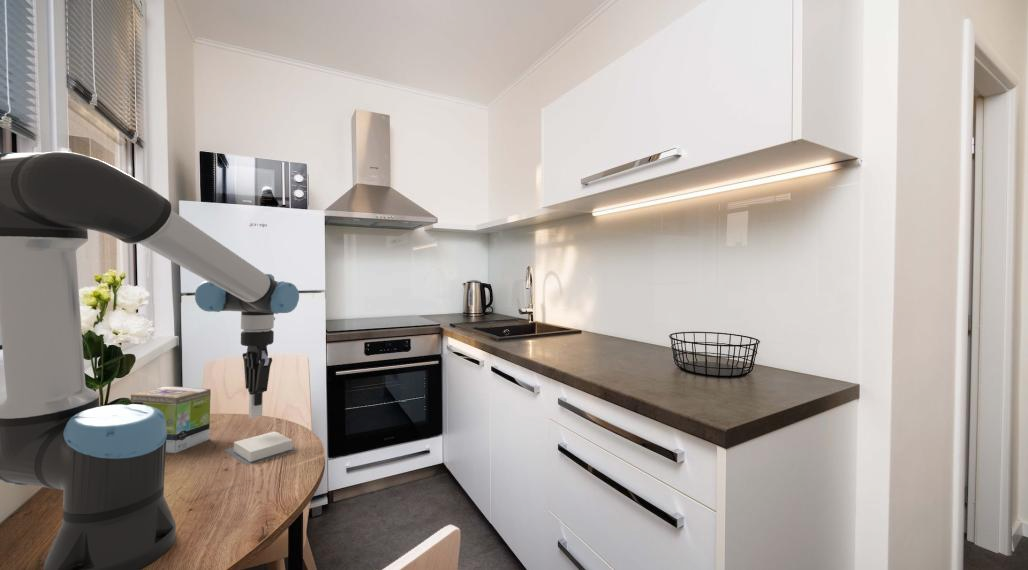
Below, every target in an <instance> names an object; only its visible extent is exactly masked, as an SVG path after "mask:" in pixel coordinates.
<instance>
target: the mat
mask: <svg viewBox="0 0 1028 570" xmlns="http://www.w3.org/2000/svg"><path fill="white" fill-rule="evenodd" d="M297 450H298V448H295V447H294V446H292V449H291V450H288V451H285V452H282V453H278V454H275V455H272V456H269V457H265V458H262V459H259V460H256V461H252V462H250V461H248V460H246V459H245V458H243V457H242V456H240V455H239V454H237V453H235V452H234V446H233V447H231V448H230V447H229V448H226V449H224V450H223V451H224V452H225V453H228V455H230V456H231V457H233V458H235V459H236V460H237V461H240V462H241V463H242V464H244V465H245V466H250V465H252V464H255V463H256V464H257V463H258V462H262V461H265V460H268V459H271V458H275V457H278V456H281V455H285V454H288V453H291V452H294V451H297Z"/></svg>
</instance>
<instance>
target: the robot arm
mask: <svg viewBox="0 0 1028 570" xmlns="http://www.w3.org/2000/svg"><path fill="white" fill-rule="evenodd" d="M89 230H90V231H95V232H99V233H102V234H106V235H108V236H112V237H113V238H116V239H117V240H119V241H121V242H123V243H125V244H128V245H139V244H140V245H142V246H143V247H145V248H147V249H149V250H151V251H152V252H155V253H156V254H158V255H159V256H161V257H163V258H165V259H167V260H169V261H171V262H172V263H174V264H176V265H178V266H180V267H182V268H183V269H185V270H187V271H188V272H190V273H193V274H195V275H196V276H197V277H200V278H201V279H203V280H205V281H202V282H201V283H199V285H198V286H197V287H196V289H195V293H194V294H195V295H194V297H195V298H194V299H195V303H196V305H197V307H198V308H199V309H200V310H202V311H203V312H208V313H209V312H214V313H220V312H241V315H240V329H241V333H240V345H241V346H244V347H247V348H246V352H243V353H242V359H243V369H244V382H245V389H246V390H248V395H249V396H248V397H249V400H248V401H249V402H248V418H250V419H254V418H258V417H262V416H263V398H264V396H263V395H264V394H263V393H264V392H265V393H266V392H267V391H268V385H269V378H270V372H271V371H270V370H271V366H272V362H273V358H272V357H268V356H269V352H268V345H272V344H273V343H274V341H275V340H274V336H275V335H274V333H275V331H274V330H273V328H274V326H275V324H274V323H275V322H274V321H275V320H276V317H275V315H278V314H288V313H291V312H293V311H294V310H295V309H296V307H297V306H298V303H299V300H300V291H299V290H298V288H297V286H296V285H295V284H294V283H292V282H288V281H286V282H285V281H277V280H275V275H273V274H270V273H265V272H263V271H261V270H260V269H259V268H257V267H255V266H254V265H252V264H251V263H250V262H248V261H247V260H245V259H244V258H242V257H241V256H239V255H238V254H237V253H235V252H234V251H232V250H231V249H229V248H228V247H226V246H225V245H223V244H222V243H221V242H219V241H217V240H216V239H215V238H214V237H212V236H210V235H208V234H207V233H206V232H204V231H203V230H201V229H200V228H199V227H197V226H196V225H194V224H192V222H189V221H188V220H186V219H185V218H184V217H182V216H181V215H180V214H178V213H176V212H175V211H174V206H173V204H172V202H171V201H170V200H169V199H167V198H166V197H164V196H162V195H161V194H160V193H158V192H157V191H156V190H154V189H152V188H151V187H150V186H148V185H146V184H145V183H143V182H142V181H140V180H138V179H137V178H135V177H133V176H132V175H130V174H128V173H127V172H125V171H122V170H121V169H119V168H117V167H115V166H113V165H111V164H109V163H107V162H105V161H102V160H100V159H98V158H95V157H92V156H88V155H85V154H81V153H77V152H72V151H49V152H48V151H47V152H4V153H2V152H0V336H1V345H2V346H1V347H2V357H3V358H2V359H3V367H4V368H3V369H4V381H5V391H6V398H5V401H4V402H2V404H0V481H2V482H4V483H9V484H14V485H19V486H34V487H41V488H42V487H43V488H48V489H54V490H61V491H63V493H62V494H63V496H62V498H63V500H62V503H63V504H62V522H61V525H60V526H59V529H58V532H57V534H56V536H55V538H54V540H53V542H52V545H51V547H50V549H49V551H48V554H47V556H46V557H45V560H44V562H43V563H44V564H43V570H140V569H142V568H144V567H146V566H147V565H149V564H151V563H153V562H154V561H156V560H157V559H158V558H160V557H162V556H163V555H164V554H165V553H167V551H168V550H170V548H171V547H172V546H173V545H174V543H175V540H176V536H177V535H176V533H177V531H176V530H177V525H176V520H175V519H174V517H173V513H172V511H171V510H170V507H169V505H168V503H167V500H166V498H165V492H164V491H165V474H166V473H165V471H166V453H167V452H166V438H167V430H166V422H165V416H164V414H163V413H162V412H161V411H160V410H159V409H157V408H154V407H151V406H147V405H140V404H123V403H122V404H121V403H120V404H109V405H101V406H100V393H99V392H98V391H95V390H93V389H92V388H89V387H87V385H86V373H85V362H84V361H85V360H84V346H83V334H82V333H83V332H82V331H83V329H82V319H81V318H82V317H81V307H80V305H81V304H80V291H79V277H78V265H77V250H78V249H79V248H80V247H82V246H83V245H84V244H86V243H87V242H89V233H88V231H89Z"/></svg>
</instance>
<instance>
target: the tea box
mask: <svg viewBox="0 0 1028 570" xmlns="http://www.w3.org/2000/svg"><path fill="white" fill-rule="evenodd" d="M211 392H212V391H211V389H210V388H204V387H203V388H199V387H186V386H173V385H172V386H171V385H167V386H161V387H158V388H153V389H149V390H144V391H139V392H136V393H132V394H130V402H131V401H132V402H133V403H134V404H140V405H147V406H151V407H154V408H157V409H159V410H160V411H161V412H162V413H163V414H164V416H165V422H166V430H167V438H166V453H169V454H177V453H179V452H182V451H184V450H187V449H188V448H192V447H194V446H196V445H199V444H201V443H203V442H206V441H208V440H210V425H211V423H210V421H211V419H210V418H211V394H212V393H211Z"/></svg>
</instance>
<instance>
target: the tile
mask: <svg viewBox="0 0 1028 570" xmlns="http://www.w3.org/2000/svg"><path fill="white" fill-rule="evenodd" d="M293 441H294V439H291V438H289V437H288V436H285V435H283V434H281V433H279V432H277V431H270V432H267V433H263V434H260V435H259V434H258V435H256V436H251V437H248V438H244V439H240V440H236V441H234V442H233V447H234V452H235V453H237V454H239V455H240V456H242V457H243V458H245V459H246V460H248V461H250V462H252V461H256V460H259V459H262V458H265V457H269V456H272V455H275V454H278V453H282V452H285V451H288V450H291V449H292V447H293Z"/></svg>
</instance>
